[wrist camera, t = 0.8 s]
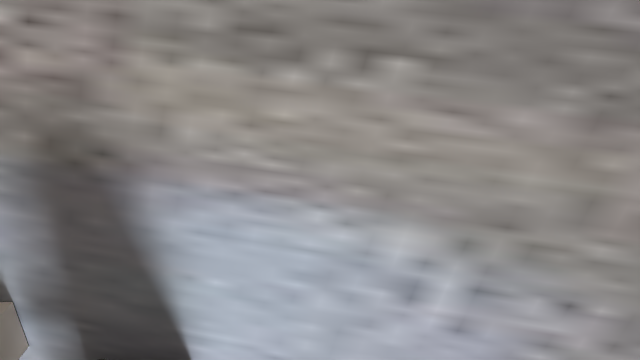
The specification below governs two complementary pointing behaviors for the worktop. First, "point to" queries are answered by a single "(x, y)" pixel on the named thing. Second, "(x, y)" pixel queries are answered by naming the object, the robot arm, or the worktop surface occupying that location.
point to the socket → (11, 333)
